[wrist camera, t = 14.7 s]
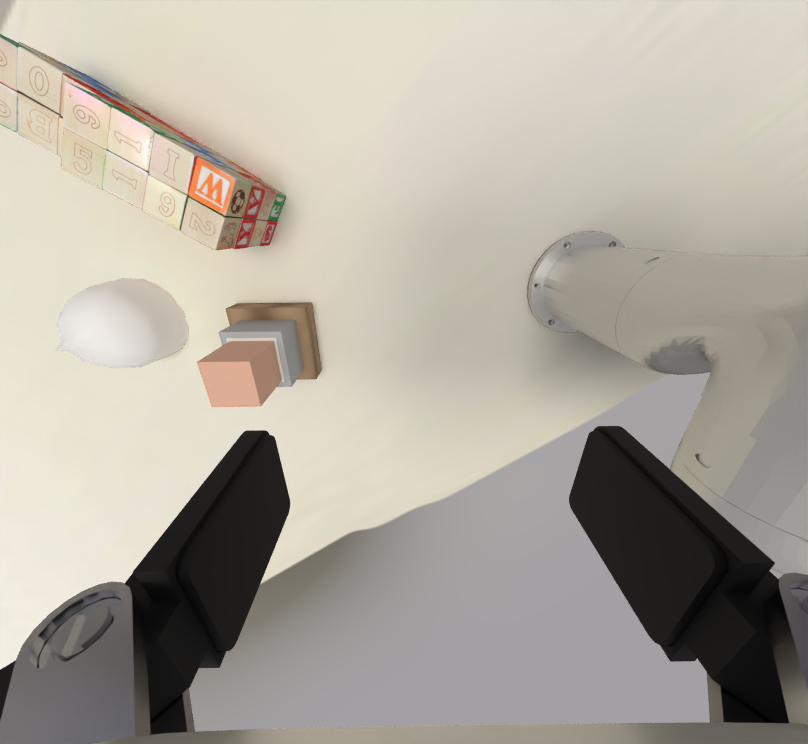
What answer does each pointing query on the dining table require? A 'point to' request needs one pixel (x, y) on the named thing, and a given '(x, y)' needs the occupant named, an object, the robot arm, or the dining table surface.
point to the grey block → (283, 338)
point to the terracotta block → (241, 373)
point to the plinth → (286, 312)
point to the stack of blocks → (133, 152)
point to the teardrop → (122, 324)
